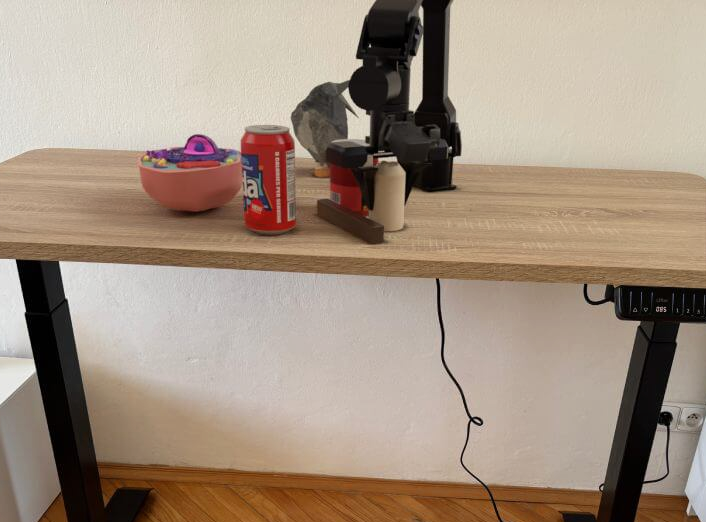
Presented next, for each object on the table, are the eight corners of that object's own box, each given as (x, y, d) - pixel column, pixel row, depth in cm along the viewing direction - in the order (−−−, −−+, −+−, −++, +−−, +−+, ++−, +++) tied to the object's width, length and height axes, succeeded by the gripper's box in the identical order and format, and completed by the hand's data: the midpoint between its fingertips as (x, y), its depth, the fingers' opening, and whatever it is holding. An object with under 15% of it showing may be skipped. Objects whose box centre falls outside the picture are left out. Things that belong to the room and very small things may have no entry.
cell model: (115, 215, 125) (105, 142, 119) (186, 190, 141) (181, 124, 136) (206, 229, 119) (200, 153, 114) (269, 201, 136) (267, 133, 130)
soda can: (301, 235, 118) (299, 131, 111) (248, 238, 116) (243, 132, 109) (291, 221, 125) (288, 123, 117) (241, 224, 122) (236, 123, 115)
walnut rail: (327, 213, 130) (327, 198, 129) (383, 242, 116) (384, 225, 115) (317, 214, 129) (316, 199, 128) (372, 243, 115) (372, 227, 114)
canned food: (371, 218, 128) (373, 148, 123) (324, 214, 130) (324, 145, 124) (381, 207, 135) (383, 140, 130) (336, 203, 136) (337, 137, 131)
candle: (376, 233, 121) (378, 166, 116) (363, 223, 125) (364, 159, 120) (409, 230, 123) (412, 164, 118) (394, 220, 127) (396, 157, 122)
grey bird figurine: (275, 171, 157) (271, 74, 149) (334, 162, 167) (334, 71, 158) (319, 184, 148) (318, 82, 140) (378, 174, 158) (381, 78, 149)
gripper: (362, 113, 105) (360, 228, 112) (473, 106, 113) (464, 213, 121) (323, 102, 113) (324, 209, 120) (430, 96, 122) (424, 197, 129)
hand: (386, 207), depth 122 cm, fingers closed on candle, 5 cm apart
